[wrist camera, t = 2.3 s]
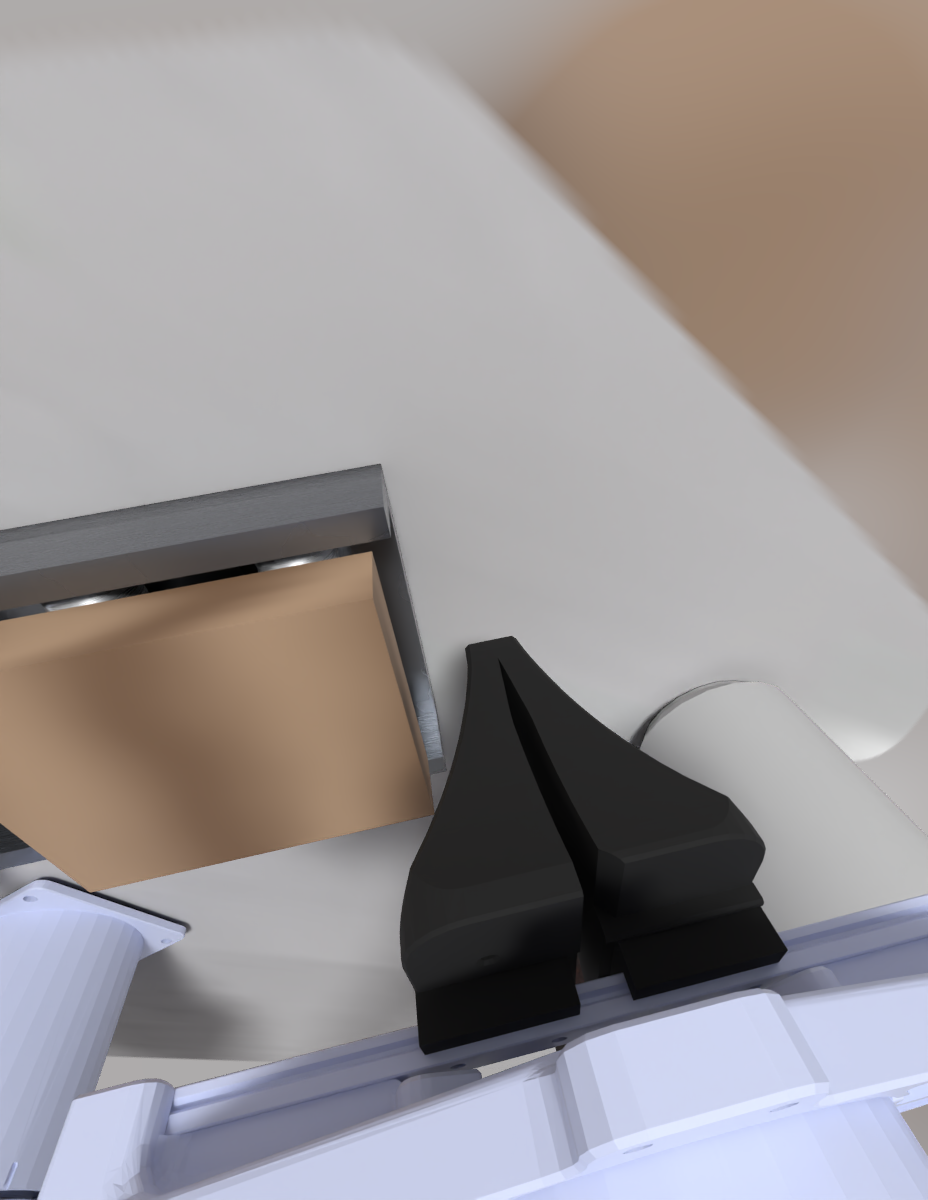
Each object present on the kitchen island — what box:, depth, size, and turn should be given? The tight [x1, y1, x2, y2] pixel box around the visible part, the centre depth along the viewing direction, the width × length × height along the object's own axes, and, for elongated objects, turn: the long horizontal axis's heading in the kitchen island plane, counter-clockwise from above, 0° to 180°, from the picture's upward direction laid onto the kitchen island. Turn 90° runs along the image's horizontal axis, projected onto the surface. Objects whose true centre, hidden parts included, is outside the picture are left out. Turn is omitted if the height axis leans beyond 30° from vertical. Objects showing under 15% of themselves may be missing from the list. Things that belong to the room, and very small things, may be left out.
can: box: [640, 681, 928, 932], centre depth 18 cm, size 8×8×12 cm
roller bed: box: [0, 464, 446, 870], centre depth 13 cm, size 20×10×6 cm, turn 97°
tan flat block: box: [0, 551, 435, 893], centre depth 12 cm, size 10×8×2 cm
